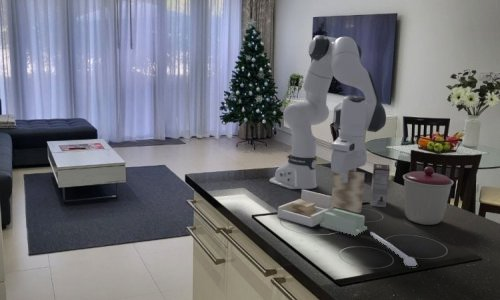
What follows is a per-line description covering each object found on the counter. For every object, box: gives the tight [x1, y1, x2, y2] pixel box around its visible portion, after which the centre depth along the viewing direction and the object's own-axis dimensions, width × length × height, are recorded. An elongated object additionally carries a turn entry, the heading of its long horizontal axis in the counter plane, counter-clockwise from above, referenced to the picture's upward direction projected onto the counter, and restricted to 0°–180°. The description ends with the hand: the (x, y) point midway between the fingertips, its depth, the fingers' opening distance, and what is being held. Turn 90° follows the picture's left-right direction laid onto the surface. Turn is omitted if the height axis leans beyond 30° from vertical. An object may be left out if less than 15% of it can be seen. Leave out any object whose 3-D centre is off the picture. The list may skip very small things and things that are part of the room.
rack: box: [277, 189, 335, 228], centre depth 191 cm, size 15×15×8 cm
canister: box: [402, 166, 455, 226], centre depth 192 cm, size 18×18×21 cm
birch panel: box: [331, 170, 366, 214], centre depth 179 cm, size 11×2×14 cm, turn 52°
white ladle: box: [369, 231, 418, 267], centre depth 164 cm, size 28×4×3 cm, turn 15°
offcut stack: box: [292, 199, 315, 217], centre depth 190 cm, size 7×6×6 cm
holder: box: [319, 207, 368, 237], centre depth 182 cm, size 14×9×5 cm, turn 52°
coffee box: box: [370, 163, 391, 208], centre depth 212 cm, size 9×6×16 cm
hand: (348, 181), depth 179 cm, fingers closed on birch panel, 2 cm apart
